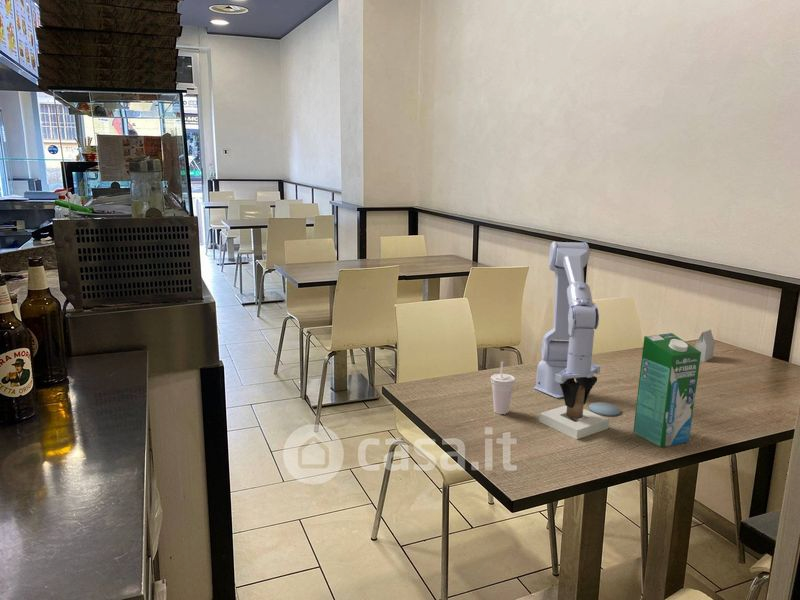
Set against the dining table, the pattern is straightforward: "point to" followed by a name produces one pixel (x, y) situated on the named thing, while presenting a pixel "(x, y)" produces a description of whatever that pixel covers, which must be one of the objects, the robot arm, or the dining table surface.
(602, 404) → the coaster
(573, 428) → the holder block
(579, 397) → the walnut dowel
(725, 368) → the dining table surface
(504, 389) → the smoothie
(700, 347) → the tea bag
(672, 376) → the milk carton
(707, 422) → the dining table surface
